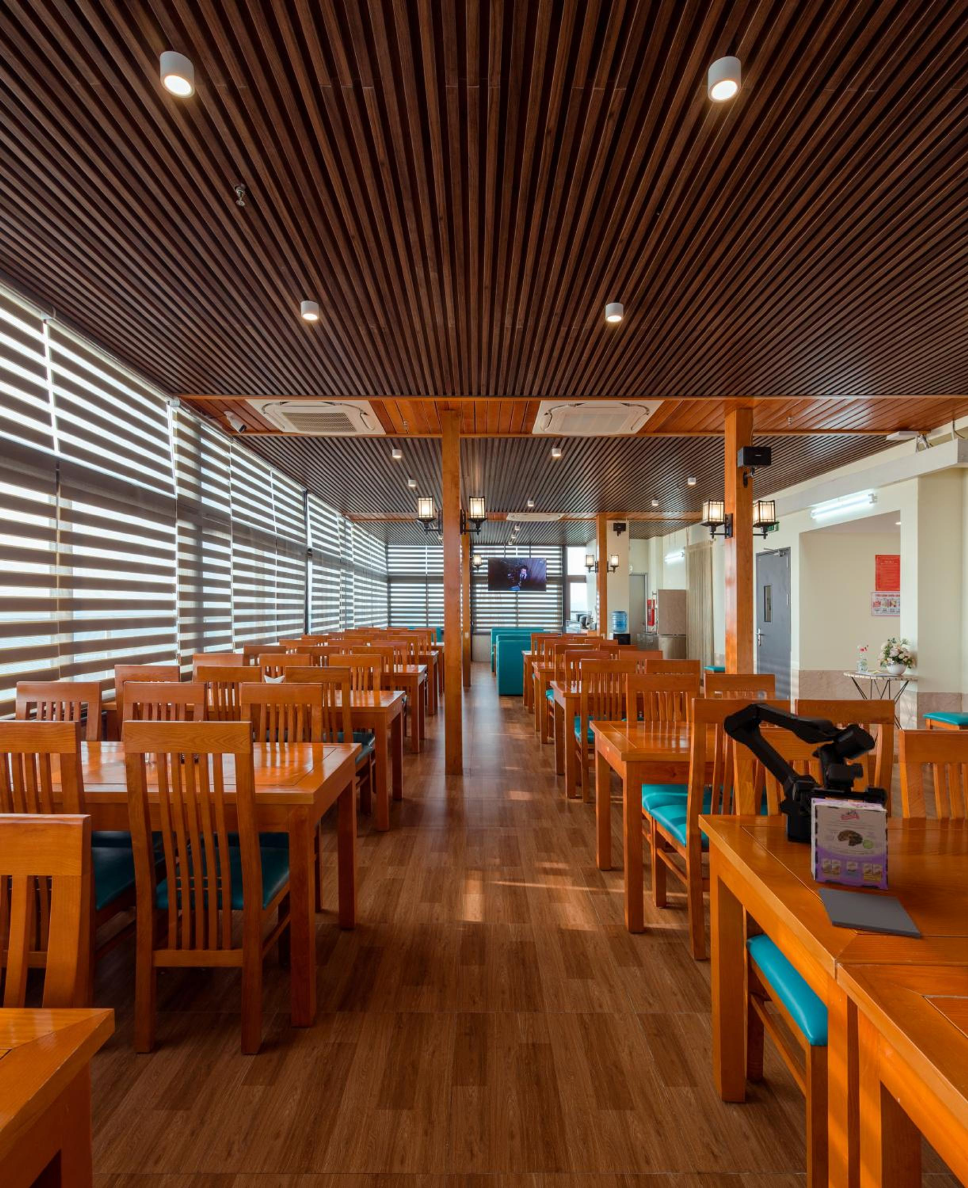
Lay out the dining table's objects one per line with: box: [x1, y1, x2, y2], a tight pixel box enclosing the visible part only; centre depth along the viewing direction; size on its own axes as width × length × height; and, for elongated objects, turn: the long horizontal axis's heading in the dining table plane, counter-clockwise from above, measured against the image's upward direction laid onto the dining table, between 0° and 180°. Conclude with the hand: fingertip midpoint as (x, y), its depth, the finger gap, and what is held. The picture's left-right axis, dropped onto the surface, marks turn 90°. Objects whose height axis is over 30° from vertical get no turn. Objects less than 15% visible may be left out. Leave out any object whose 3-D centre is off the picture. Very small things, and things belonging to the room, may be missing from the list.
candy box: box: [810, 798, 889, 891], centre depth 142 cm, size 14×6×16 cm, turn 71°
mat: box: [817, 887, 921, 938], centre depth 128 cm, size 14×15×1 cm
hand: (844, 829), depth 147 cm, fingers open, 9 cm apart
